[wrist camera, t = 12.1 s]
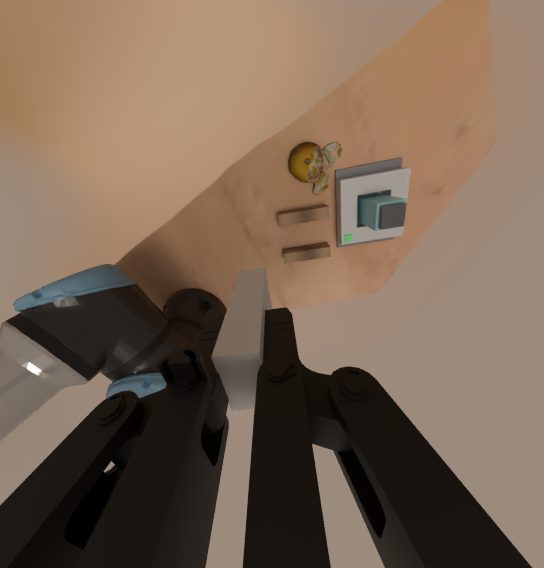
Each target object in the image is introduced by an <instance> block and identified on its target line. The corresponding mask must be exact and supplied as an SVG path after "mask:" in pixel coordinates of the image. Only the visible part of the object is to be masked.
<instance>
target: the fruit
mask: <svg viewBox="0 0 544 568" xmlns="http://www.w3.org/2000/svg"><path fill="white" fill-rule="evenodd" d="M336 148H338V152H337V154H336V157H332V156H331V151H332V150H335V149H336ZM341 151H342V148H341V146H340V144H339V143H337V142H333V143H330V144H328V145H327V146H326V147H325V148H324V149H322V150H321V149H320V146H319V145H317V144H315V143H311V142H305V143H302V144H299V145H298V146H297V147H295V148H294V149H293V150H292V151H291V154H290V158H289V171H290V173H292V175H294V176H295V178H297V179H298V180H300V181H301V182H313V183H314V184H315V189H314V190H313V193H314V194H316V195H317V194H319V193H321V192H323V191H324V190H326V189H327V188H328V186H329V184H328V180H329V175H326V174H324V172H323V171H322V168H323V167H326V168H329V167H330V166H331V165H333V164H334V162H335V160H336V158H338V157H340V155H341ZM324 184H326V186H323V185H324Z"/></svg>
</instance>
